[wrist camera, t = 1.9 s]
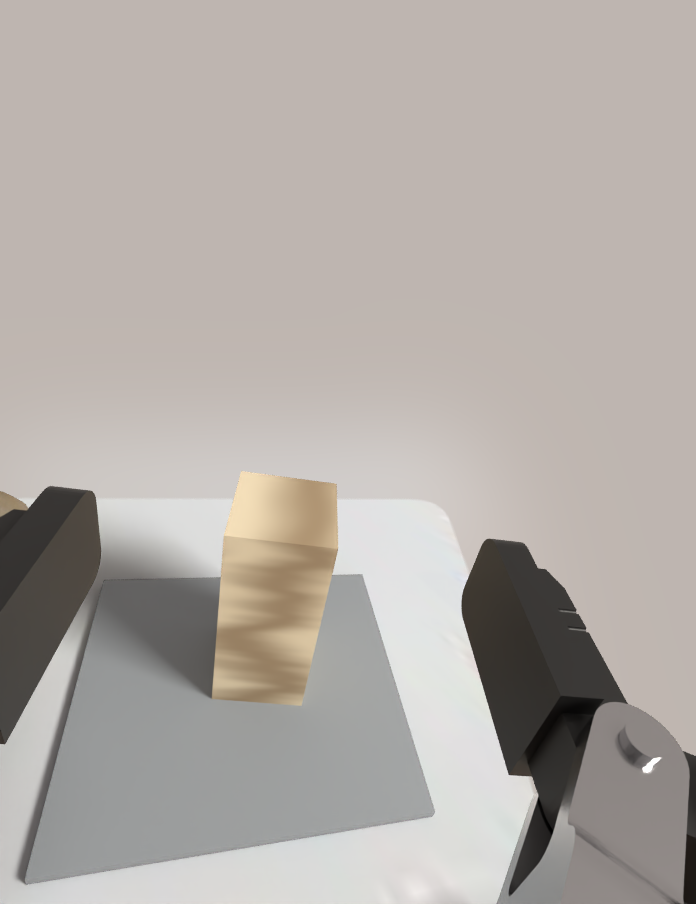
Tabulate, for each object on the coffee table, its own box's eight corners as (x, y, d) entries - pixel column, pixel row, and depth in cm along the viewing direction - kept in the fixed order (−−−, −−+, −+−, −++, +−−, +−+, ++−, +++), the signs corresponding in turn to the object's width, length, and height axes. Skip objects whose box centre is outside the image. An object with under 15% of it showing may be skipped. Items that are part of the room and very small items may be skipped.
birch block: (211, 698, 27) (224, 535, 21) (227, 625, 32) (241, 471, 26) (301, 705, 28) (338, 548, 22) (304, 632, 32) (336, 483, 26)
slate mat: (26, 884, 20) (24, 879, 20) (104, 585, 33) (103, 580, 33) (432, 816, 25) (435, 811, 25) (360, 578, 38) (362, 574, 38)
